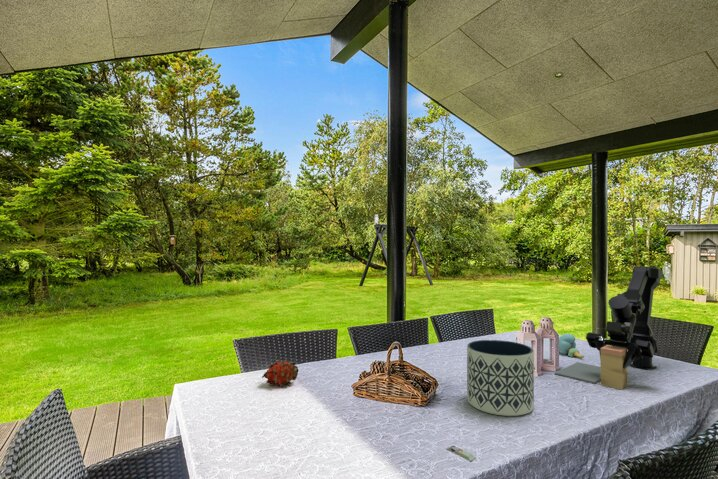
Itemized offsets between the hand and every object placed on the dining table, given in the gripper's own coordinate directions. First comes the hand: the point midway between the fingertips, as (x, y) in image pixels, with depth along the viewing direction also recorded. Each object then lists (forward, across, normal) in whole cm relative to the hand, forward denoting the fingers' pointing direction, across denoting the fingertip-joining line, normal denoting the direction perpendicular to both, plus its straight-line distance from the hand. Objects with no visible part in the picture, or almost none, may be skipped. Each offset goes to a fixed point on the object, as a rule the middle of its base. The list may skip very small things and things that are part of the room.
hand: (612, 365), depth 131 cm
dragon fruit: (+63, -71, -53) cm, 109 cm away
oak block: (+4, 0, +6) cm, 7 cm away
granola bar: (+57, -7, -47) cm, 74 cm away
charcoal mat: (-1, -11, +10) cm, 15 cm away
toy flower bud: (-14, -24, +24) cm, 37 cm away
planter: (+34, -16, -25) cm, 45 cm away
